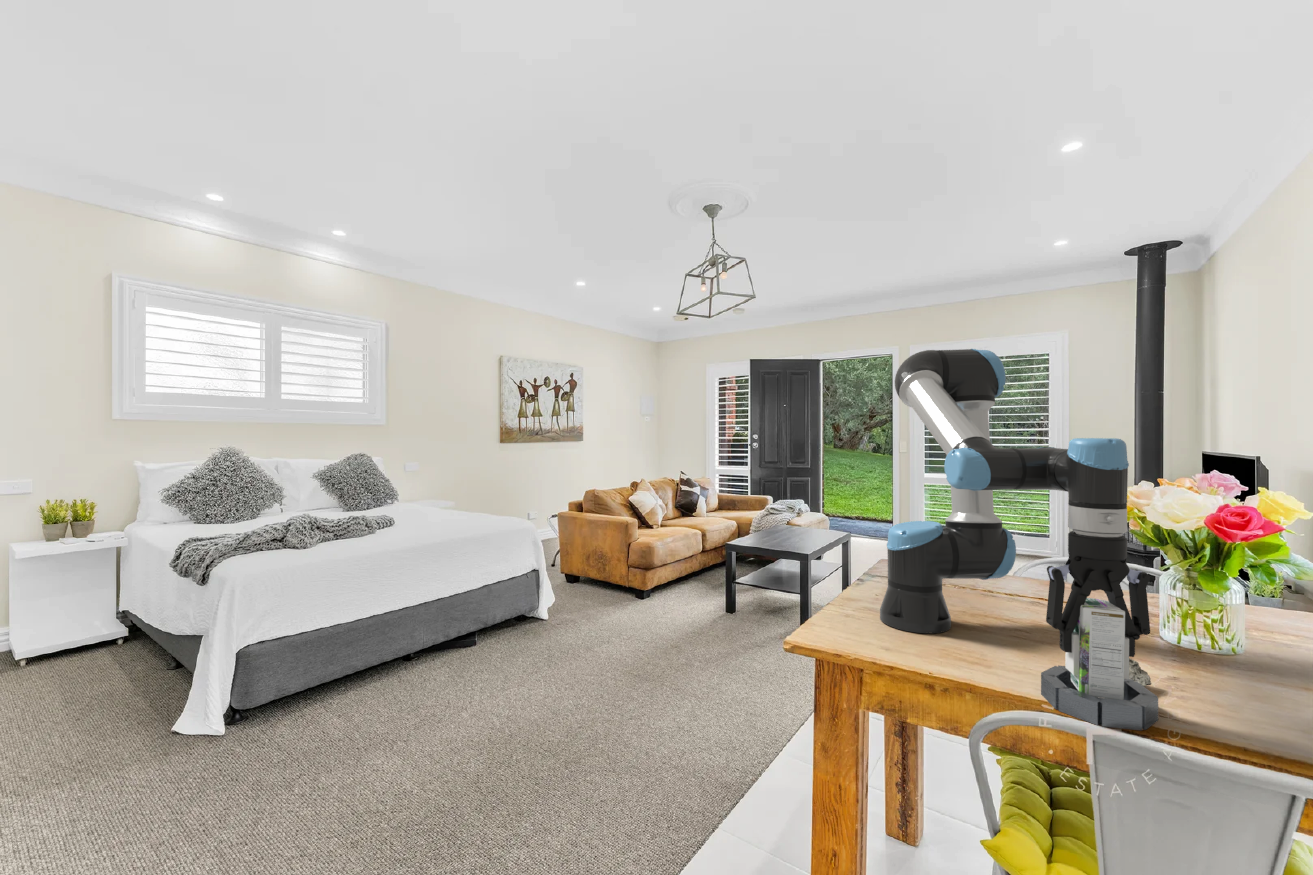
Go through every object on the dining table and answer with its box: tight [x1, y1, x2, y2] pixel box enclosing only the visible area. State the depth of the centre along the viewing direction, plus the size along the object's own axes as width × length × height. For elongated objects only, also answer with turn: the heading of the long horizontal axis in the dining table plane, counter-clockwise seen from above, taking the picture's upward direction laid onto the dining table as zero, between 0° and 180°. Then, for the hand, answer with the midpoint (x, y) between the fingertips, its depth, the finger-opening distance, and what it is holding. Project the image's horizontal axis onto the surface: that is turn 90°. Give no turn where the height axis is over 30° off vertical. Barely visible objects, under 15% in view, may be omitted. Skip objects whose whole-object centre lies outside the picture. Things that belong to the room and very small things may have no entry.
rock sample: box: [1129, 657, 1152, 688], centre depth 97 cm, size 10×8×9 cm
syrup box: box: [1071, 597, 1125, 700], centre depth 90 cm, size 6×6×14 cm
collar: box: [1040, 665, 1159, 731], centre depth 90 cm, size 14×14×4 cm
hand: (1096, 673), depth 90 cm, fingers closed on syrup box, 6 cm apart
